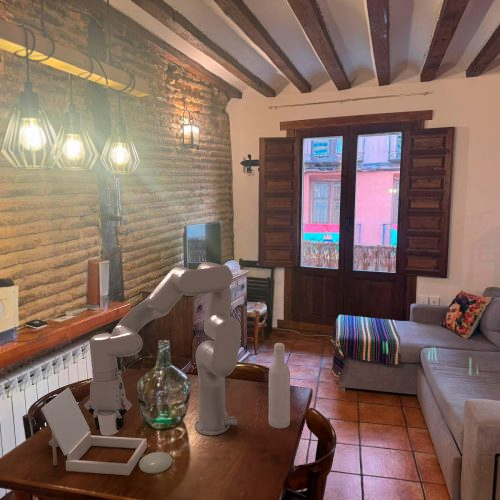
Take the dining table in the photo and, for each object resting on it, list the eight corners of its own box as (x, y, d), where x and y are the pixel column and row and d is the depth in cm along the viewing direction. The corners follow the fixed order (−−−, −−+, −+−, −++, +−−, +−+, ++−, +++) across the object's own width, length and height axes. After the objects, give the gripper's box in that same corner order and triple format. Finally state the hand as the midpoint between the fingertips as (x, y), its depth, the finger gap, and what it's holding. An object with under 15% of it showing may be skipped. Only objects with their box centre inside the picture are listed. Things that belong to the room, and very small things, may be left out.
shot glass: (125, 426, 140) (124, 406, 139) (112, 438, 134) (110, 416, 133) (107, 423, 142) (106, 403, 141) (94, 434, 136) (92, 413, 135)
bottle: (279, 431, 154) (279, 349, 151) (264, 423, 160) (263, 344, 157) (294, 423, 159) (295, 344, 156) (279, 415, 165) (279, 339, 162)
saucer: (175, 455, 140) (175, 453, 140) (166, 474, 130) (166, 472, 130) (146, 453, 141) (145, 451, 141) (134, 472, 131) (134, 469, 131)
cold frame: (146, 447, 145) (144, 390, 142) (129, 475, 130) (126, 412, 128) (70, 442, 148) (67, 387, 146) (44, 469, 133) (40, 408, 131)
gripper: (136, 369, 138) (140, 422, 140) (85, 368, 140) (89, 421, 142) (127, 379, 131) (131, 435, 133) (73, 378, 133) (78, 433, 135)
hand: (109, 427), depth 138 cm, fingers closed on shot glass, 6 cm apart
